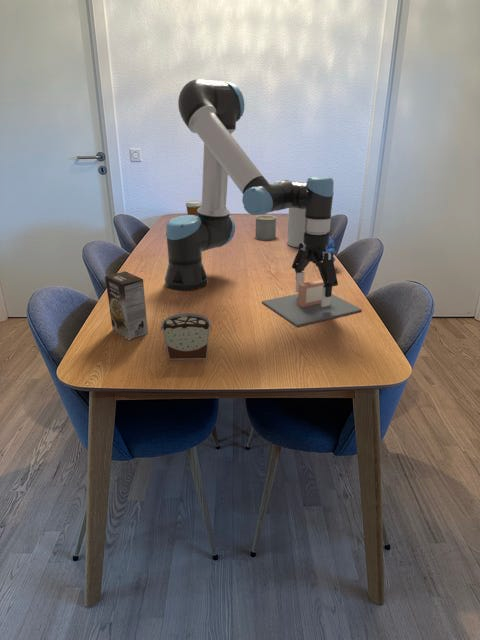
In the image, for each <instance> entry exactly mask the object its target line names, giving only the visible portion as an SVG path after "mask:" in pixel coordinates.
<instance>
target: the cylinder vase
mask: <svg viewBox="0 0 480 640" xmlns="http://www.w3.org/2000/svg"><path fill="white" fill-rule="evenodd" d="M304 222H305V209H298V208H288V221H287V241H286V243H287V245H288V246H289V247H293V248H297V249H299V244H300V243H303V240H304V232H305V230H304Z"/></svg>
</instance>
